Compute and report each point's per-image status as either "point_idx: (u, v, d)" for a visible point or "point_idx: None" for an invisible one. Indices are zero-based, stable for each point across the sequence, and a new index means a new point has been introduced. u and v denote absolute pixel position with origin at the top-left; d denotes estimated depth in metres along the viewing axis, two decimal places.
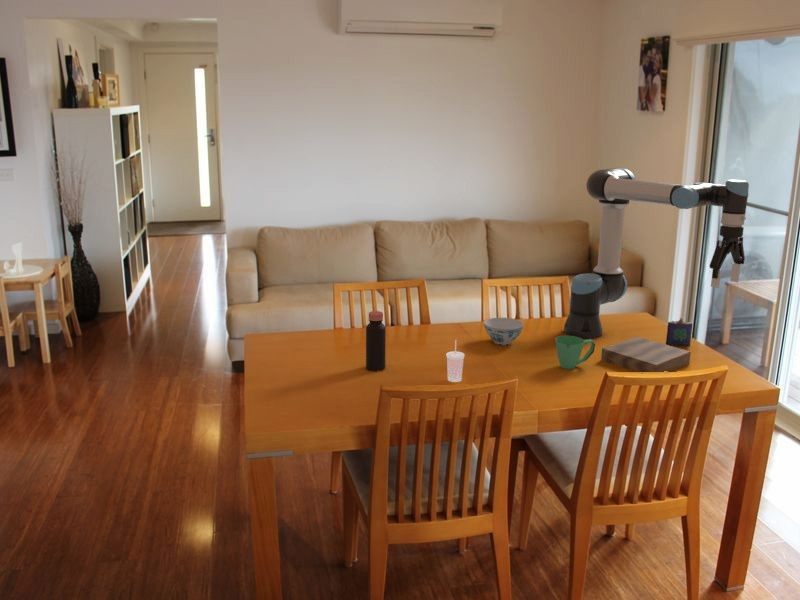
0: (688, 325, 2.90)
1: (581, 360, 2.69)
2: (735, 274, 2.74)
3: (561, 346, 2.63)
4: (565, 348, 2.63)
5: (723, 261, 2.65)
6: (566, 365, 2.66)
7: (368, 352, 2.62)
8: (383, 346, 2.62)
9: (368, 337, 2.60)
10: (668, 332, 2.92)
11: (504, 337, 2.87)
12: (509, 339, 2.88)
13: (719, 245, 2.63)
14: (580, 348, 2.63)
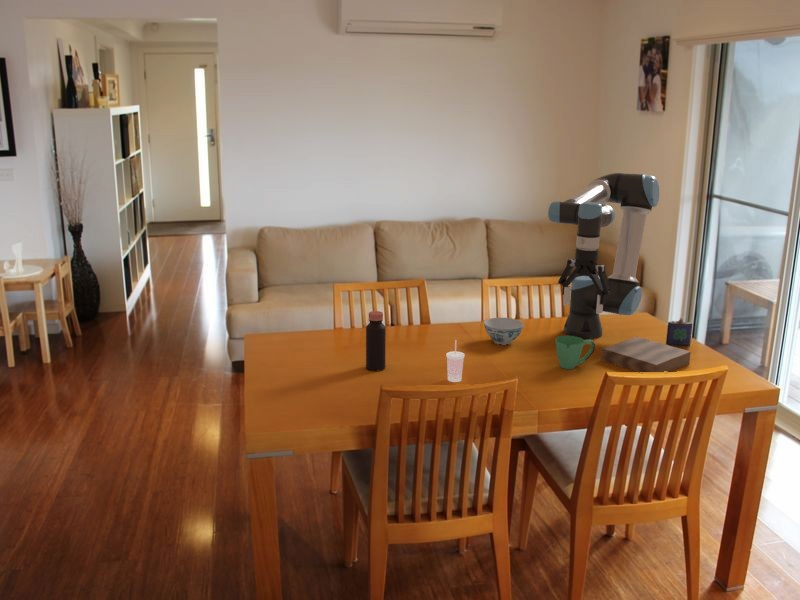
0: (688, 325, 2.90)
1: (581, 360, 2.69)
2: None
3: (561, 346, 2.63)
4: (565, 348, 2.63)
5: (569, 280, 2.65)
6: (566, 365, 2.66)
7: (368, 352, 2.62)
8: (383, 346, 2.62)
9: (368, 337, 2.60)
10: (668, 332, 2.92)
11: (504, 337, 2.87)
12: (509, 339, 2.88)
13: None
14: (580, 348, 2.63)
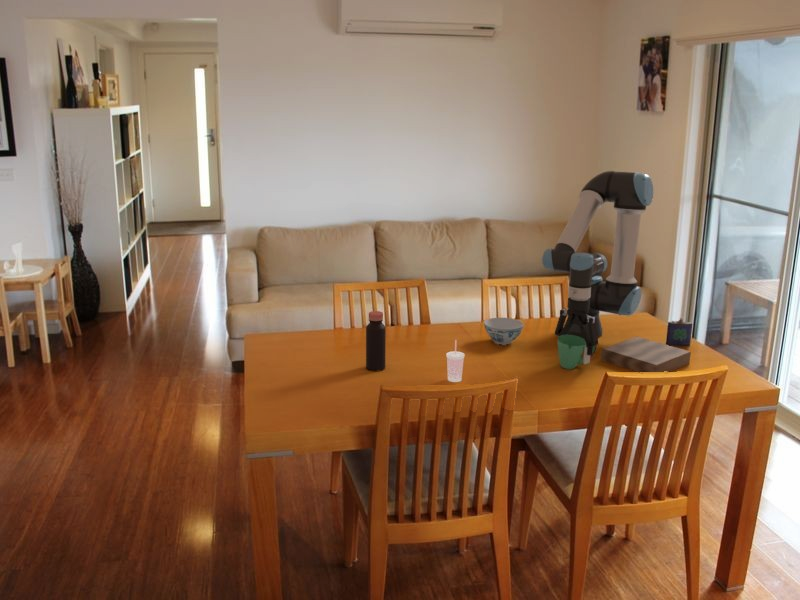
0: (688, 325, 2.90)
1: (581, 360, 2.68)
2: None
3: (563, 346, 2.63)
4: (566, 349, 2.62)
5: (564, 330, 2.68)
6: (566, 365, 2.66)
7: (368, 352, 2.62)
8: (383, 346, 2.62)
9: (368, 337, 2.60)
10: (668, 332, 2.92)
11: (504, 337, 2.87)
12: (509, 339, 2.88)
13: None
14: (582, 349, 2.63)
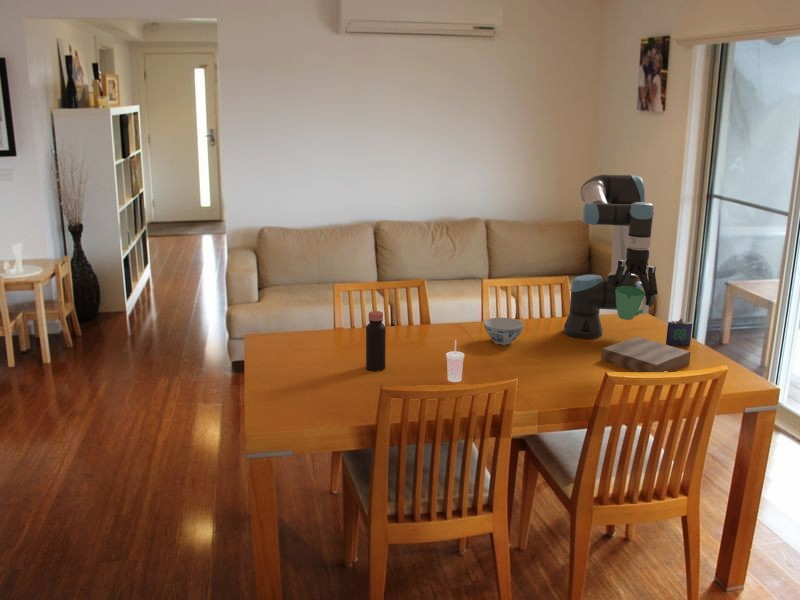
0: (688, 325, 2.90)
1: (639, 311, 2.68)
2: None
3: (621, 296, 2.62)
4: (625, 299, 2.62)
5: (622, 282, 2.68)
6: (624, 316, 2.65)
7: (368, 352, 2.62)
8: (383, 346, 2.62)
9: (368, 337, 2.60)
10: (668, 332, 2.92)
11: (504, 337, 2.87)
12: (509, 339, 2.88)
13: None
14: (640, 300, 2.62)
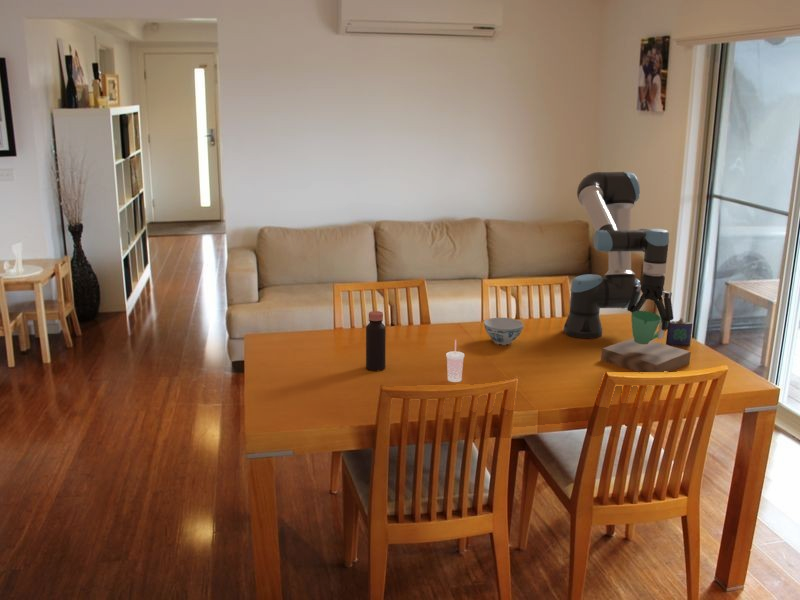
0: (688, 325, 2.90)
1: (655, 336, 2.72)
2: None
3: (638, 322, 2.66)
4: (642, 324, 2.65)
5: (638, 306, 2.72)
6: (641, 340, 2.69)
7: (368, 352, 2.62)
8: (383, 346, 2.62)
9: (368, 337, 2.60)
10: (668, 332, 2.92)
11: (504, 337, 2.87)
12: (509, 339, 2.88)
13: None
14: (656, 324, 2.66)
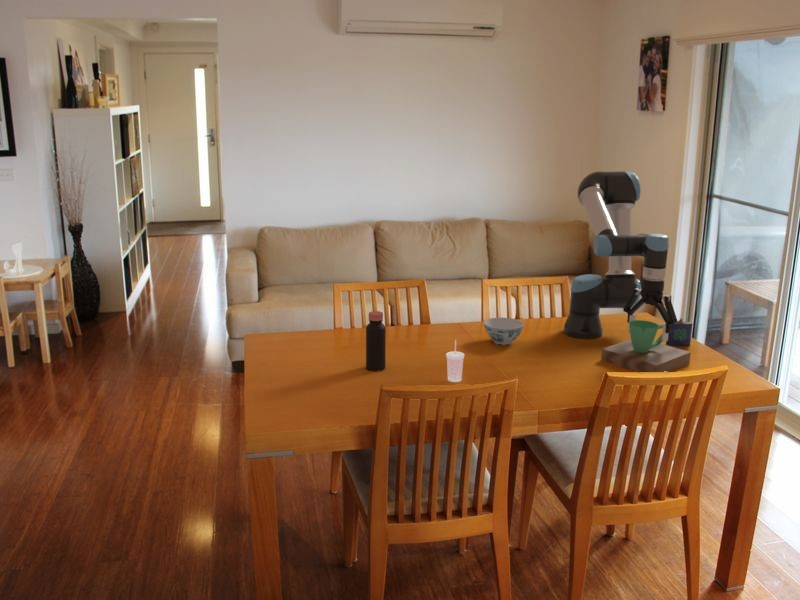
0: (688, 325, 2.90)
1: (654, 344, 2.73)
2: None
3: (636, 329, 2.67)
4: (640, 331, 2.67)
5: (634, 309, 2.73)
6: (640, 349, 2.70)
7: (368, 352, 2.62)
8: (383, 346, 2.62)
9: (368, 337, 2.60)
10: None
11: (504, 337, 2.87)
12: (509, 339, 2.88)
13: None
14: (655, 332, 2.67)
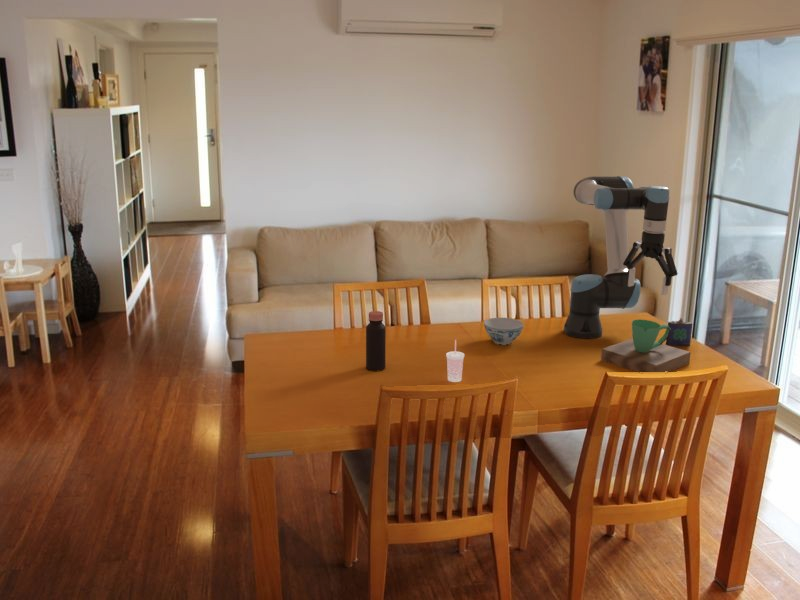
0: (688, 325, 2.90)
1: (655, 344, 2.73)
2: None
3: (638, 329, 2.67)
4: (642, 331, 2.67)
5: (634, 262, 2.72)
6: (641, 348, 2.70)
7: (368, 352, 2.62)
8: (383, 346, 2.62)
9: (368, 337, 2.60)
10: None
11: (504, 337, 2.87)
12: (509, 339, 2.88)
13: None
14: (657, 332, 2.67)
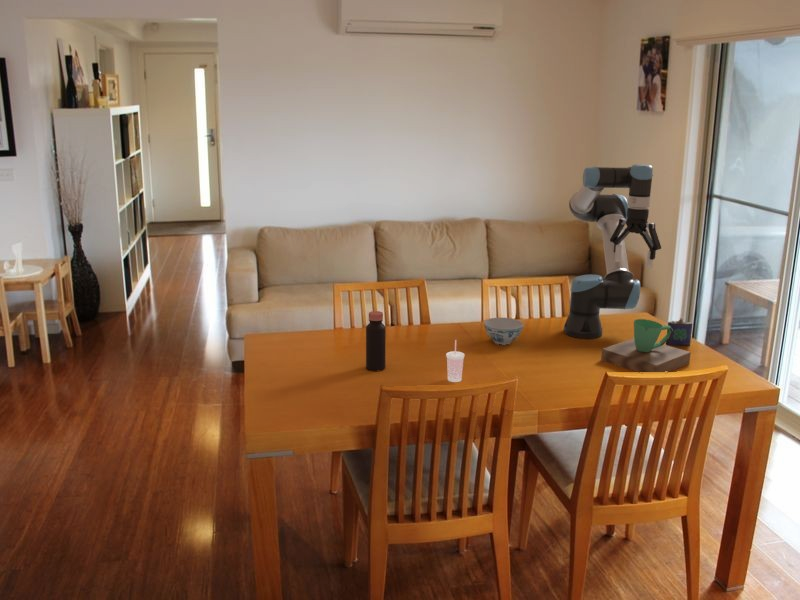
0: (688, 325, 2.90)
1: (657, 345, 2.73)
2: None
3: (639, 328, 2.68)
4: (643, 331, 2.67)
5: (620, 238, 2.84)
6: (642, 348, 2.70)
7: (368, 352, 2.62)
8: (383, 346, 2.62)
9: (368, 337, 2.60)
10: None
11: (504, 337, 2.87)
12: (509, 339, 2.88)
13: None
14: (658, 332, 2.68)
